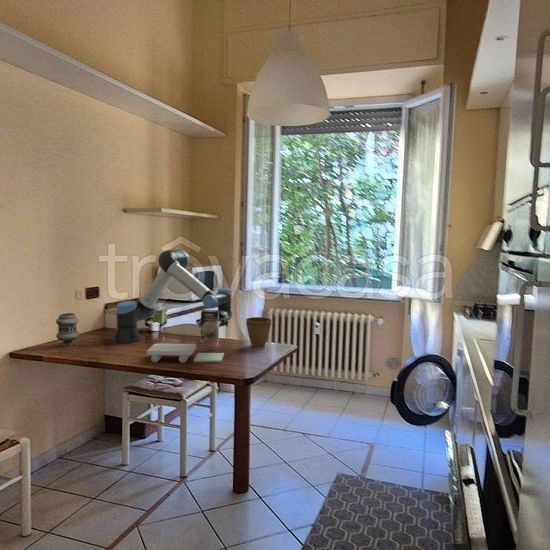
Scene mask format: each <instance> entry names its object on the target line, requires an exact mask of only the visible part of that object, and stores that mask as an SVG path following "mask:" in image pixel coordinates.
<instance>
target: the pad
mask: <svg viewBox="0 0 550 550" xmlns="http://www.w3.org/2000/svg"><path fill="white" fill-rule="evenodd" d="M224 355H225V353H224V352H197V354H196V355H195V357H194V359H193V362H194V363H195V362H197V363H200V362H203V363H209V362H210V363H221V362H222V361H223V358H224Z"/></svg>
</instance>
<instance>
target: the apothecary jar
mask: <svg viewBox="0 0 550 550" xmlns="http://www.w3.org/2000/svg"><path fill="white" fill-rule="evenodd" d="M79 322H80V321H79V319H78V317H77V316H76V313H74V312H67V313H60V314H58V318H57V319H56V321H55V323H56V324H57V326H58V332H57V333H56V335H55V336H56V339H57V340H59V341H62V342H60V343H59V344H60V345H65V346H70V345H75V346H77V345H78V343H77V342H75V341H74V340H77V339H78V338H79V337H80V333H79V331H78V329H77V324H78V323H79ZM76 344H77V345H76ZM70 347H71V346H70Z"/></svg>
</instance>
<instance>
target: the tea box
mask: <svg viewBox="0 0 550 550" xmlns="http://www.w3.org/2000/svg"><path fill="white" fill-rule="evenodd" d="M167 311H168V312H169V309H168V307H167V306H156V307H155V313H154V318H153V319H150V320H149V321H153V322H158V323H160V332H163V331H164V330H163V328H164V327H165V326H166V323H167V315H166V312H167ZM167 324H168V323H167Z"/></svg>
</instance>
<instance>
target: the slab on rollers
mask: <svg viewBox="0 0 550 550" xmlns="http://www.w3.org/2000/svg"><path fill="white" fill-rule="evenodd" d="M196 348H197V344H196V343H154V344H153V345H152V346H150V347H149V348H148V349H147V350H146V355H147V356H148V355H149V356H151V357H150V361H151V362H152V363H154V364H155V362H156V363H158V362H159V361H160V360H161V358H163V357H164V356H179V357H178V362H180V363H182V364H184V363H186V362H187V360H188V359H189V358H190V356H192V354H193V353H194V351H195V350H196Z"/></svg>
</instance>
